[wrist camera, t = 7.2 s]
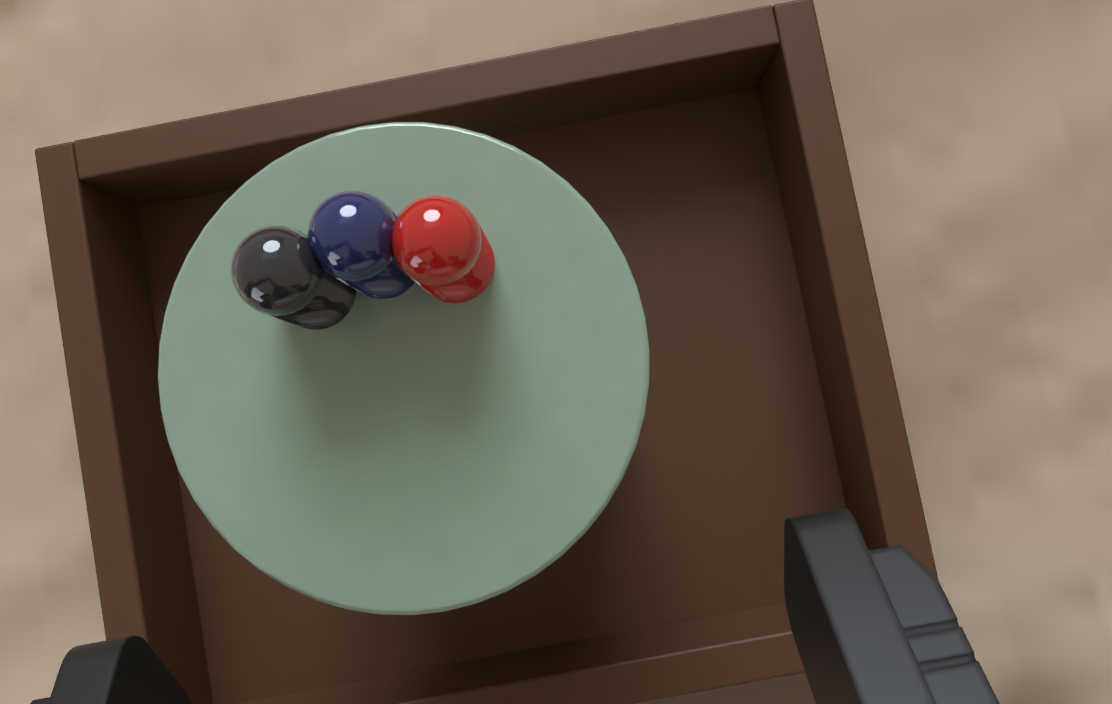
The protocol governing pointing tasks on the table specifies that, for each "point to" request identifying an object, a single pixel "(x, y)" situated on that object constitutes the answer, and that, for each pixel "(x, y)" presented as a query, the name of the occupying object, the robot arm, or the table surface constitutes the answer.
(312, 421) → the pen pot
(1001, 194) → the table surface
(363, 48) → the table surface
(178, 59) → the table surface
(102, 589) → the tray
